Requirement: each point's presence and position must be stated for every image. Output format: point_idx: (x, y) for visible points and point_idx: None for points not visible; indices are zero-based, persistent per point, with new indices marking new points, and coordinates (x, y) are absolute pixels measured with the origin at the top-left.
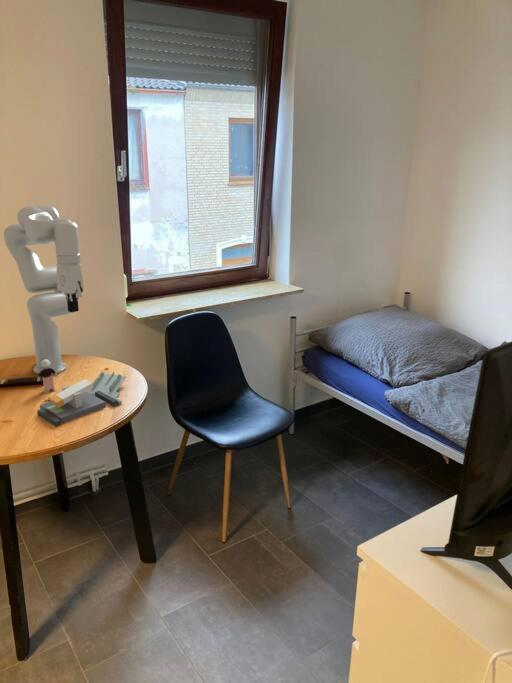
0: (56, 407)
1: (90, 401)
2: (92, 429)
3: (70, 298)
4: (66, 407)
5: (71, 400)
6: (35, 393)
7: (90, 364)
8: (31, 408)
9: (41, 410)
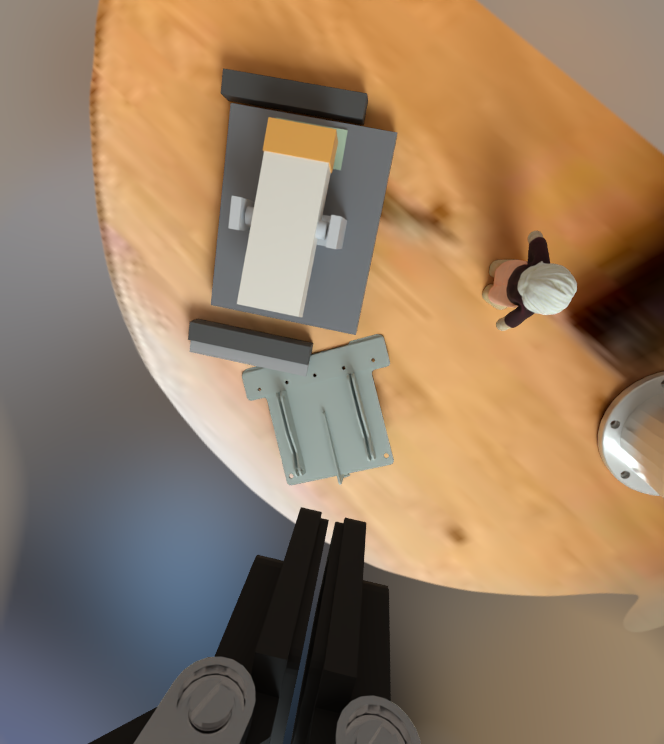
0: None
1: None
2: (121, 149)
3: (193, 740)
4: None
5: None
6: None
7: (545, 539)
8: (439, 125)
9: (352, 104)
